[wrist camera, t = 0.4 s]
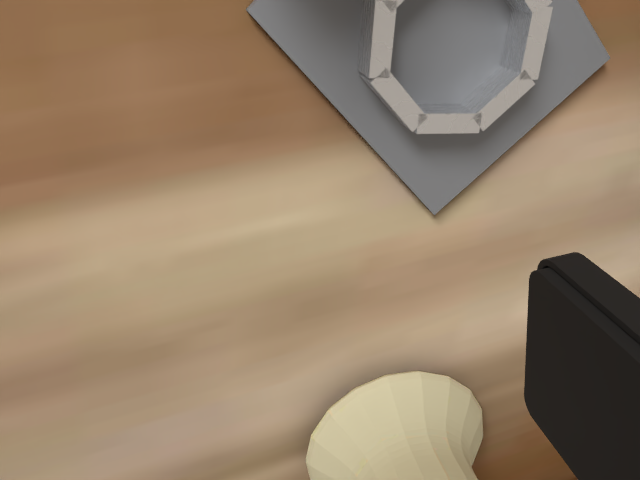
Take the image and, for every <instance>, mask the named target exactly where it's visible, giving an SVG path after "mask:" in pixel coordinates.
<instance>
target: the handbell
mask: <svg viewBox="0 0 640 480" xmlns="http://www.w3.org/2000/svg"><path fill="white" fill-rule="evenodd" d="M482 438H483V421H482V409H481V407H480V405H479V404H478V402H477V400H476V399H475V397H474V395H473V394H472V392H471V390H470V389H468V388H466V387H465V386H463V385H462V384H460V383H458V382H457V381H455V380H454V379H452V378H450V377H449V376H445V375H440V374H434V373H428V372H423V371H410V372H402V373H395V374H388V375H384V376H381V377H379V378H377V379H374V380H372V381H370V382H367V383H365V384H363V385H360V386H358V387H356V388H354V389H353V390H351V391H350V392H349V393H348V394H346V395H345V396H344V397H343V398H341V399H340V400H339V401H337V402H336V403H335V404H334V405H332V406H331V407H330V408H329V409H328V411H327V412H326V413H325V415H324V416H323V418H322V419H321V421H320V422H319V424H318V425H317V427H316V428H315V430H314V431H313V433H312V435H311V438H310V443H309V447H308V452H307V456H306V465H307V469H308V473H309V476H310V480H478V479H477V477H476V475H475V473H474V471H473V469H472V464H473V462H474V460H475V457H476V454H477V452H478V449H479V447H480V444H481V441H482Z"/></svg>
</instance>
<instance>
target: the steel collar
mask: <svg viewBox="0 0 640 480" xmlns="http://www.w3.org/2000/svg"><path fill="white" fill-rule="evenodd" d="M403 1H404V0H362V12H361V26H360V39H359V53H358V66H357V70H358V71H359V72H361V73H360V74H359V75H360V77H361V78H362V79H363V80H364V81H365V82H366V84H367V85H368V86H369V87H370V88H371V89H372V91H373V92H374V93H375V94H376V95H377V96H378V98H379V99H380V100H381V101H382V102H383V103H384V105H385V106H386V107H387V108H388V109H389V110H390V112H391V113H392V114H393V115H394V116H395V117H396V119H397V120H398V121H399V122H400V123H402V124H403V125H404V126H405V127H407V128H408V129H409V130H410V131H412V132H415V133H416V134H451V133H479V130H482V131H484V130H485V129H486V128H487V127H489V126H490V125H491V124H492V123H493V122H494V121H495V120H496V119H497V118H498V117H500V116H501V115H502V114H503V113H504V112H505V111H506V110H507V109H508V108H510V107H511V106H512V105H513V104H514V103H515V102H516V101H517V100H518V99H519V98H521V97H522V96H523V95H524V94H525V93H526V92H527V91H528V90H529V89H530V88H532V87H533V86H534V85H535V83H534V82H533V80H538V77H539V72H540V67H541V62H542V57H543V53H544V48H545V43H546V38H547V33H548V29H549V24H550V19H551V14H552V9H553V7H550V6H548V5H550V4H551V3H552V1H551V0H505V1H506V3H507V4H508V6H509V8H510V14H509V19H508V25H507V31H506V36H505V42H504V47H503V53H502V59H501V64H500V67H499V68H498V69H496V70H495V71H494V72H493V73H492V74H491V75H490V76H489V77H488V78H487V79H486V80H485V81H483V82H482V83H481V84H480V85H479V86H478V87H477V88H476V89H475V90H474V91H473V92H472V93H471V94H469V95H468V96H467V97H466V98H465V99H464V100H463V101H462V102H461V103H460V104H416V103H415V101H414V100H413V99H412V98H411V97H410V95H409V94H408V93H407V92H406V91H405V89H404V88H403V87H402V86H401V84H400V83H399V82H398V81H397V80H396V78H395V77H394V76H393V75H392V74H391V72H390V69H391V59H392V49H393V39H394V29H395V18H396V8H397V7H398V6H399V5H400V4H401V3H402V2H403Z"/></svg>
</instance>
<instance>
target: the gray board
mask: <svg viewBox="0 0 640 480" xmlns="http://www.w3.org/2000/svg"><path fill="white" fill-rule="evenodd" d="M551 1H552V3H551V4H550V5H548V6H550V7H553V9H552V14H551V19H550V24H549V29H548V33H547V38H546V43H545V48H544V53H543V57H542V62H541V67H540V72H539V77H538V80H533V82H534V83H535V85H534V86H533V87H532V88H530V89H529V90H528V91H527V92H526V93H525V94H524V95H523V96H522V97H521V98H519V99H518V100H517V101H516V102H515V103H514V104H513V105H512V106H511V107H510V108H508V109H507V110H506V111H505V112H504V113H503V114H502V115H501V116H500V117H498V118H497V119H496V120H495V121H494V122H493V123H492V124H491V125H490V126H489V127H487V128H486V129H485V130H484V131H482V130H479V133H451V134H416V133H415V132H412V131H410V130H409V129H408V128H407V127H405V126H404V125H403V124H402V123H400V122H399V121H398V120H397V119H396V117H395V116H394V115H393V114H392V113H391V112H390V110H389V109H388V108H387V107H386V106H385V105H384V103H383V102H382V101H381V100H380V99H379V98H378V96H377V95H376V94H375V93H374V92H373V91H372V89H371V88H370V87H369V86H368V85H367V84H366V82H365V81H364V80H363V79H362V78H361V77H360V75H359V74H360V73H361V72H359V71H358V70H357V66H358V53H359V39H360V26H361V12H362V0H254V1H253V2H252V3H251V4H250V5H249V6H248V7H247V9H246V10H247V11H248V13H249V14H250V15H251V16H252V17H253V18H254V19H255V20H256V21H257V22H258V23H259V25H260V26H261V27H262V28H263V29H264V30H265V31H266V32H267V33H268V34H269V35H270V37H271V38H272V39H273V40H274V41H275V42H276V43H277V44H278V45H279V46H280V47H281V49H282V50H283V51H284V52H285V53H286V54H287V55H288V56H289V57H290V58H291V59H292V61H293V62H294V63H295V64H296V65H297V66H298V67H299V68H300V69H301V70H302V71H303V73H304V74H305V75H306V76H307V77H308V78H309V79H310V80H311V81H312V82H313V83H314V85H315V86H316V87H317V88H318V89H319V90H320V91H321V92H322V93H323V94H324V95H325V97H326V98H327V99H328V100H329V101H330V102H331V103H332V104H333V105H334V106H335V107H336V109H337V110H338V111H339V112H340V113H341V114H342V115H343V116H344V117H345V118H346V120H347V121H348V122H349V123H350V124H351V125H352V126H353V127H354V128H355V129H356V130H357V132H358V133H359V134H360V135H361V136H362V137H363V138H364V139H365V140H366V141H367V142H368V144H369V145H370V146H371V147H372V148H373V149H374V150H375V151H376V152H377V153H378V154H379V156H380V157H381V158H382V159H383V160H384V161H385V162H386V163H387V164H388V165H389V166H390V168H391V169H392V170H393V171H394V172H395V173H396V174H397V175H398V176H399V177H400V178H401V180H402V181H403V182H404V183H405V184H406V185H407V186H408V187H409V188H410V189H411V190H412V192H413V193H414V194H415V195H416V196H417V197H418V198H419V199H420V200H421V201H422V202H423V204H424V205H425V206H426V207H427V208H428V209H429V210H430V211H431V212H432V213H433V214H434V215H435V214H436V213H437V212H439V211H440V210H441V209H442V208H443V207H444V206H445V205H446V204H448V203H449V202H450V201H451V200H452V199H453V198H454V197H455V196H456V195H458V194H459V193H460V192H461V191H462V190H463V189H464V188H465V187H467V186H468V185H469V184H470V183H471V182H472V181H473V180H474V179H476V178H477V177H478V176H479V175H480V174H481V173H482V172H483V171H484V170H486V169H487V168H488V167H489V166H490V165H491V164H492V163H493V162H495V161H496V160H497V159H498V158H499V157H500V156H501V155H502V154H504V153H505V152H506V151H507V150H508V149H509V148H510V147H511V146H513V145H514V144H515V143H516V142H517V141H518V140H519V139H520V138H521V137H523V136H524V135H525V134H526V133H527V132H528V131H529V130H530V129H532V128H533V127H534V126H535V125H536V124H537V123H538V122H539V121H541V120H542V119H543V118H544V117H545V116H546V115H547V114H548V113H549V112H551V111H552V110H553V109H554V108H555V107H556V106H557V105H558V104H560V103H561V102H562V101H563V100H564V99H565V98H566V97H567V96H569V95H570V94H571V93H572V92H573V91H574V90H575V89H576V88H578V87H579V86H580V85H581V84H582V83H583V82H584V81H585V80H586V79H588V78H589V77H590V76H591V75H592V74H593V73H594V72H595V71H597V70H598V69H599V68H600V67H601V66H602V65H603V64H604V63H606V62H607V61H608V60H609V59H610V56H609V55H608V53H607V51H606V50H605V48H604V46H603V44H602V43H601V41H600V39H599V37H598V36H597V34H596V32H595V30H594V29H593V27H592V25H591V24H590V22H589V20H588V18H587V17H586V15H585V13H584V11H583V10H582V8H581V6H580V4H579V3H578V1H577V0H551ZM509 14H510V8H509V6H508V4H507V3H506V1H505V0H404V1H403V2H402V3H401V4H400V5H399V6H398V7H397V8H396V18H395V29H394V39H393V49H392V59H391V69H390V72H391V74H392V75H393V76H394V77H395V78H396V80H397V81H398V82H399V83H400V84H401V86H402V87H403V88H404V89H405V91H406V92H407V93H408V94H409V95H410V97H411V98H412V99H413V100H414V101H415V103H416V104H460V103H461V102H462V101H463V100H464V99H465V98H466V97H467V96H468V95H469V94H471V93H472V92H473V91H474V90H475V89H476V88H477V87H478V86H479V85H480V84H481V83H482V82H483V81H485V80H486V79H487V78H488V77H489V76H490V75H491V74H492V73H493V72H494V71H495V70H496V69H498V68H499V67H500V64H501V59H502V53H503V47H504V42H505V36H506V31H507V25H508V19H509Z"/></svg>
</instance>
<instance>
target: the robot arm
mask: <svg viewBox="0 0 640 480" xmlns="http://www.w3.org/2000/svg"><path fill="white" fill-rule="evenodd" d="M524 398H525V403H526V406H527V409H528V411H529V413H530V415H531V416H532V418H533V419H534V421H535V422H536V423H537V425H538V426H539V427H540V429H541V430H542V431H543V433H544V434H545V435H546V437H547V438H548V439H549V441H550V442H551V443H552V445H553V446H554V448H555V449H556V450H557V452H558V453H559V454H560V456H561V457H562V458H563V460H564V461H565V462H566V464H567V465H568V466H569V468H570V469H571V470H572V472H573V473H574V474H575V476H576V477H577V478H578V480H640V298H639V297H637V296H636V295H635V294H633V293H632V292H631V291H629V290H628V289H627V288H626V287H624V286H623V285H622V284H620V283H619V282H618V281H616V280H615V279H614V278H612V277H611V276H610V275H608V274H607V273H606V272H605V271H603V270H602V269H601V268H599V267H598V266H597V265H595V264H594V263H593V262H591V261H590V260H589V259H588V258H586V257H585V256H584V255H582V254H580V253H576V252H573V253H569V254H565V255H561V256H556V257H552V258H548V259H544V260H542V261H540V263H539V265H538V268H537V270H536V271H533V272H532V273H531V275H530V278H529V296H528V319H527V342H526V365H525V388H524Z"/></svg>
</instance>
